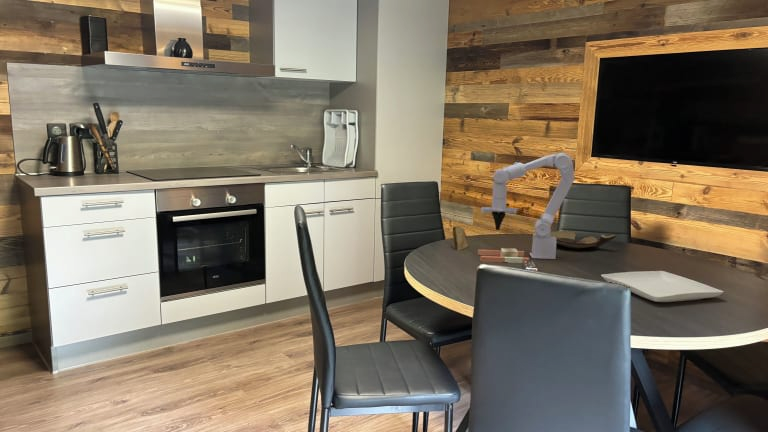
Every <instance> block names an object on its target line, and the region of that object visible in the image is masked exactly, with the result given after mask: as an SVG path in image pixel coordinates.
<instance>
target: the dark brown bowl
mask: <svg viewBox="0 0 768 432" xmlns="http://www.w3.org/2000/svg"><path fill="white" fill-rule="evenodd" d="M549 234H551V236H553V237H556V244H558V245H560V246H561V247H566V248H569V249H585V248H586V249H587V248H590V247H591V248H592V247H595V248H599V247H602V246H604V245H605V244H606V243H609V242H610V241H612V240H614V239H615V238H616V237H617V235H616V234H613V235H609V236H606V235H604V234H601V235H600V239H598V238H597V237H595V236H593V235H591V236H586V237H584V238H582V239H580V240H579V241H576V236H577V233H576V232H574V231H566V230H551V231H550V233H549Z"/></svg>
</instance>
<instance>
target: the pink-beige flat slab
mask: <svg viewBox="0 0 768 432" xmlns="http://www.w3.org/2000/svg"><path fill="white" fill-rule="evenodd" d="M517 251H518V257H501V249H500V250H499V249H496V250H495V249H477V255H478V256H480V262H481V263H482V262H483V263H502V262H508V263H507V264H509V263H510V264H525V263H524V262H525V261H529V262H530V258H529V257H525V251H524V250H517Z"/></svg>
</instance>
